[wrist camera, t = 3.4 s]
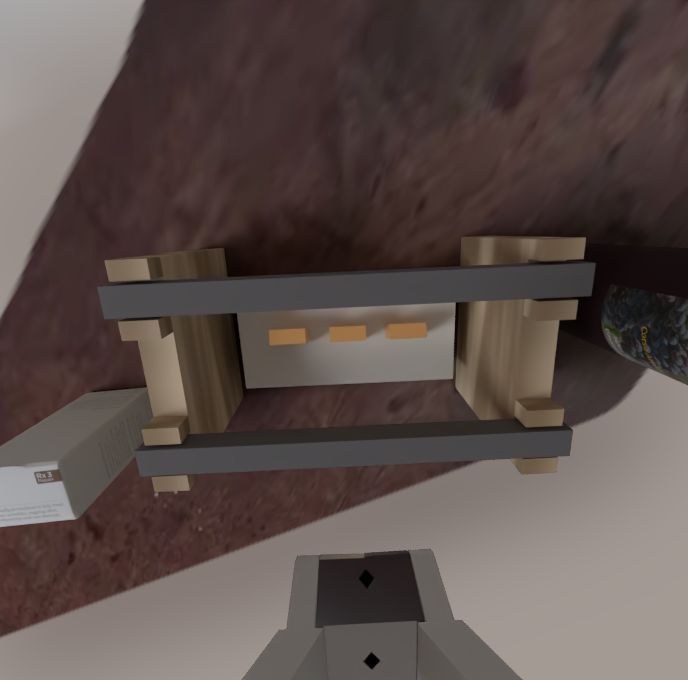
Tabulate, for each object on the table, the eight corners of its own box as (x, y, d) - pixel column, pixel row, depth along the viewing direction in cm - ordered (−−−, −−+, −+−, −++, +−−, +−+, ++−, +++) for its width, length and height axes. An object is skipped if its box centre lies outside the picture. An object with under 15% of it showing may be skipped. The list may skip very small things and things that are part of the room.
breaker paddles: (417, 323, 28) (426, 322, 25) (417, 337, 28) (427, 337, 25) (276, 330, 28) (268, 329, 25) (277, 344, 28) (269, 345, 25)
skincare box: (100, 433, 34) (-22, 536, 23) (86, 388, 33) (-50, 473, 22) (166, 427, 34) (78, 527, 23) (155, 381, 33) (55, 462, 21)
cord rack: (486, 235, 30) (586, 237, 18) (477, 386, 34) (556, 472, 22) (199, 249, 30) (104, 260, 18) (221, 398, 34) (154, 492, 21)
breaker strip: (441, 269, 31) (456, 274, 27) (439, 361, 33) (452, 378, 29) (246, 278, 31) (233, 285, 27) (257, 370, 33) (246, 388, 29)
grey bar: (556, 416, 22) (573, 430, 21) (553, 440, 23) (569, 456, 21) (148, 436, 22) (134, 451, 21) (153, 459, 23) (140, 476, 21)
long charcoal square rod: (575, 260, 20) (596, 263, 18) (571, 291, 20) (591, 295, 19) (116, 282, 20) (97, 286, 18) (122, 312, 20) (104, 319, 18)
